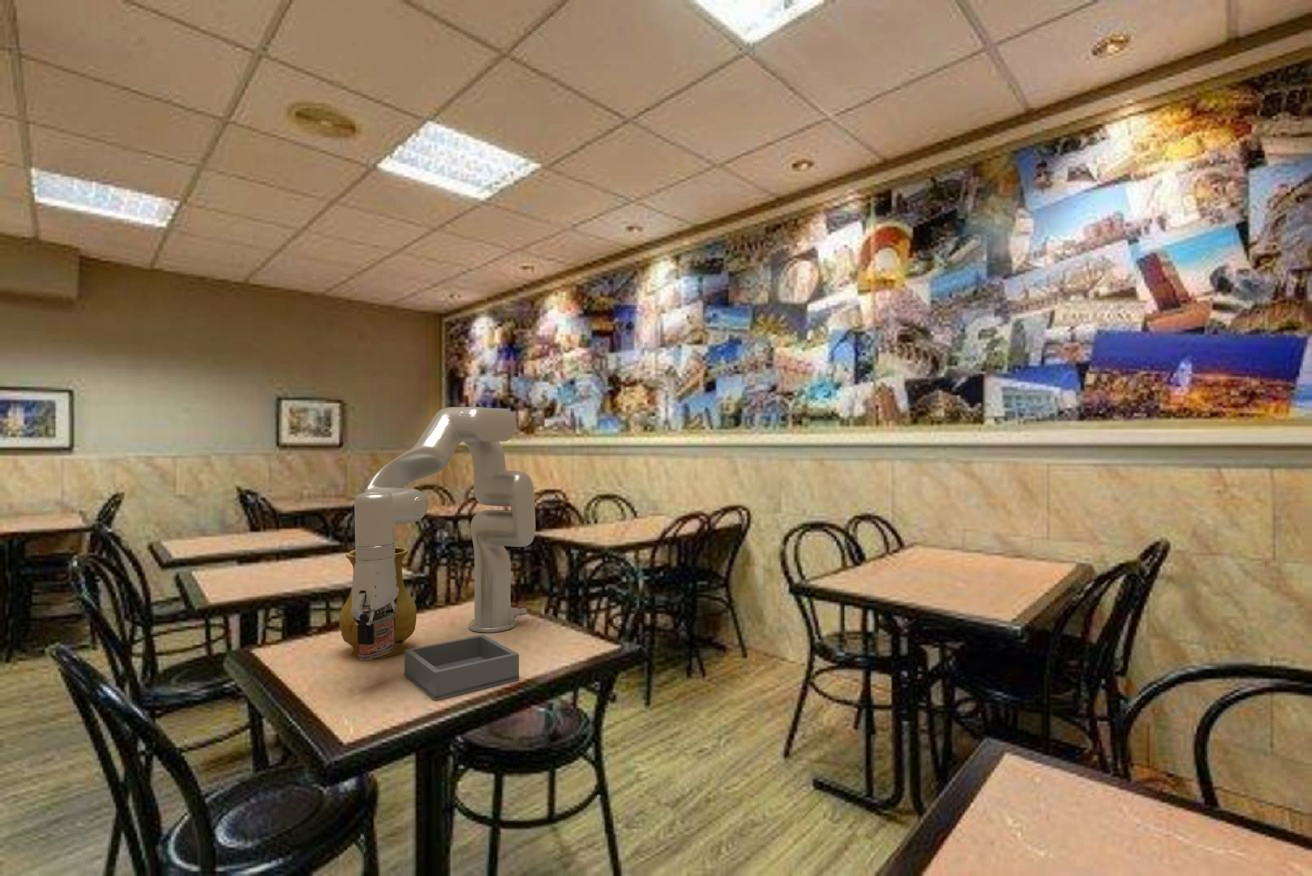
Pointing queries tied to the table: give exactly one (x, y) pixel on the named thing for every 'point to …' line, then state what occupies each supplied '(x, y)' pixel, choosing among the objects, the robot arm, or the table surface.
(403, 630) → the pitcher
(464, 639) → the bin
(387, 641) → the lighter
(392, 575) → the robot arm
